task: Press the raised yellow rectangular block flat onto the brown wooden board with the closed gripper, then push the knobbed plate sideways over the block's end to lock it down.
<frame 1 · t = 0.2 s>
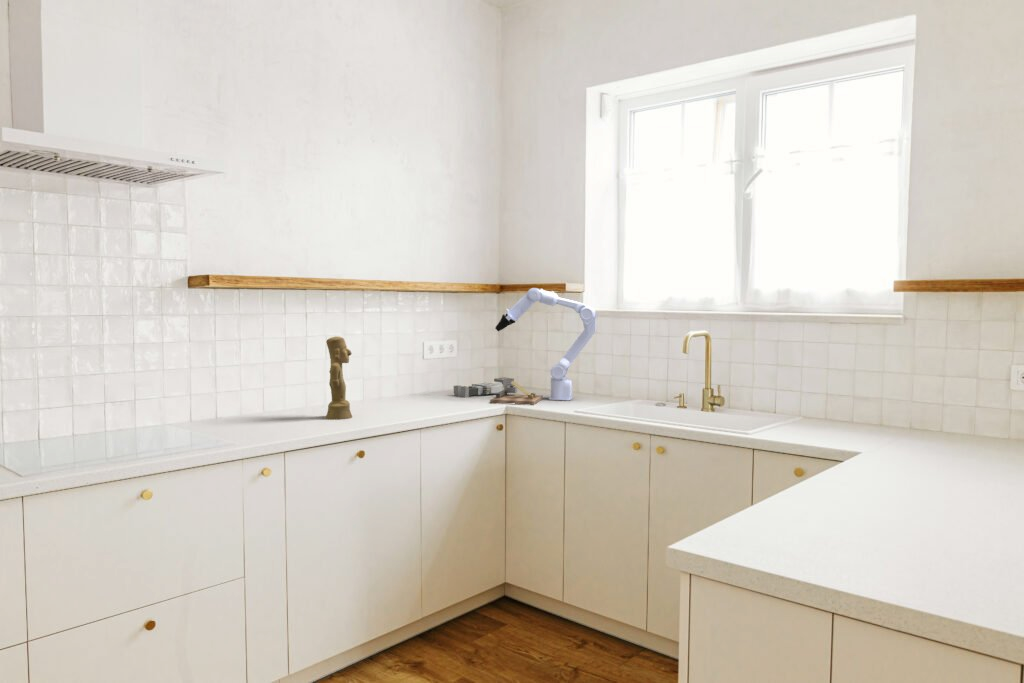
hand: (498, 329, 333), 31 cm above the countertop, tool tilted 45°, fingers open, 7 cm apart
toy figure: (485, 395, 345), on the countertop
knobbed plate: (511, 388, 329), point 4 cm above the countertop, slide at 0.0 cm
statue: (338, 417, 274), on the countertop
brown wooden board: (517, 401, 322), on the countertop
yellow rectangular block: (522, 389, 321), point 5 cm above the countertop, hinge at 35.0°
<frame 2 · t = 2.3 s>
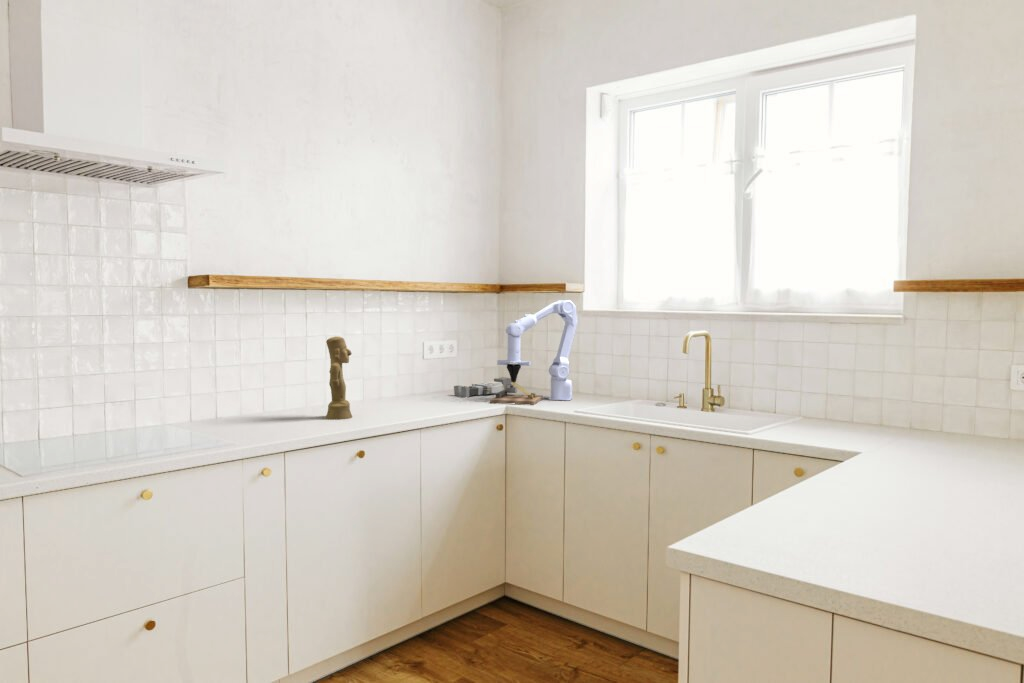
hand: (513, 381, 322), 8 cm above the countertop, tool pointing down, fingers closed
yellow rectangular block: (522, 389, 321), point 5 cm above the countertop, hinge at 34.8°, touching gripper
everything else where it was.
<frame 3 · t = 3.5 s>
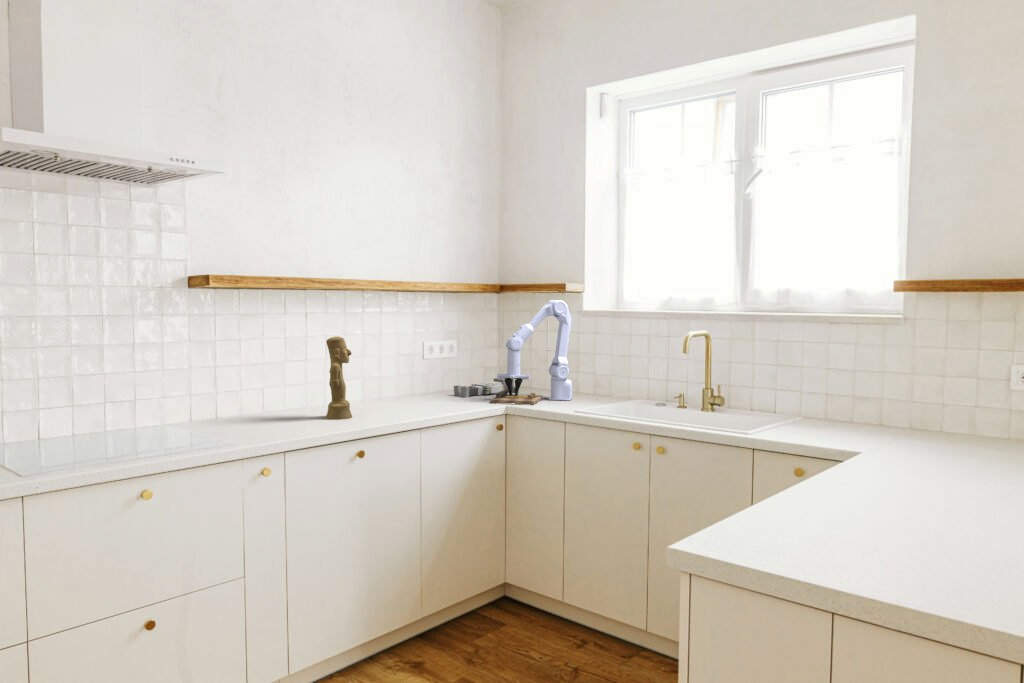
hand: (513, 395, 322), 2 cm above the countertop, tool pointing down, fingers closed on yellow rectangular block, 2 cm apart
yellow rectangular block: (519, 396, 322), point 2 cm above the countertop, hinge at -0.4°, touching gripper
everything else where it was.
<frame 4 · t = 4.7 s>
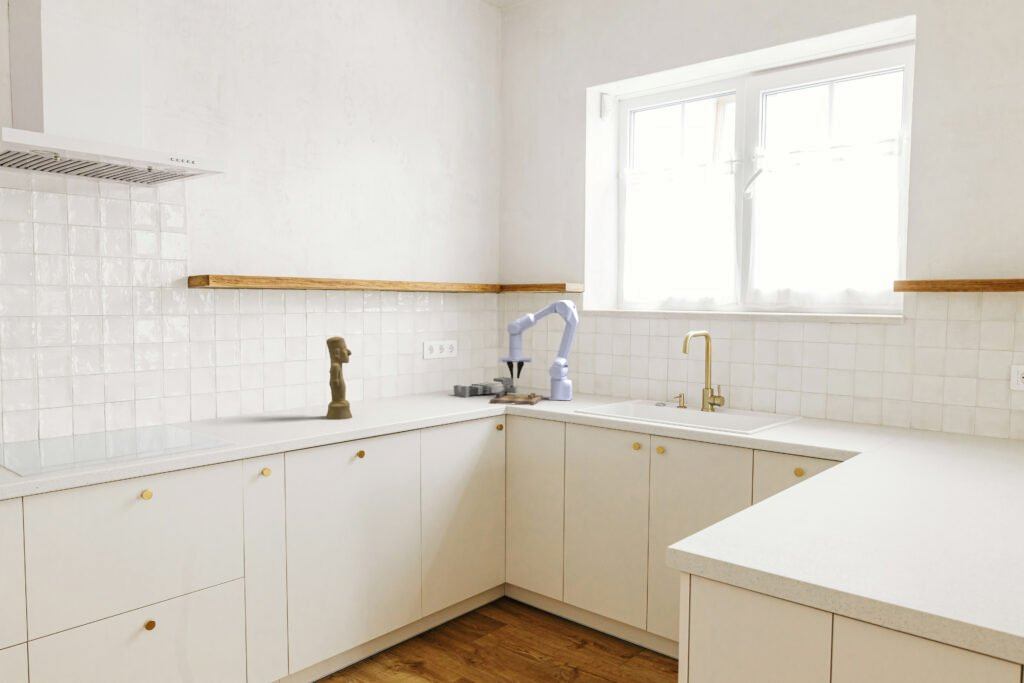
hand: (515, 378, 336), 8 cm above the countertop, tool pointing down, fingers closed
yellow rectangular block: (519, 396, 322), point 2 cm above the countertop, hinge at -0.3°
everything else where it was.
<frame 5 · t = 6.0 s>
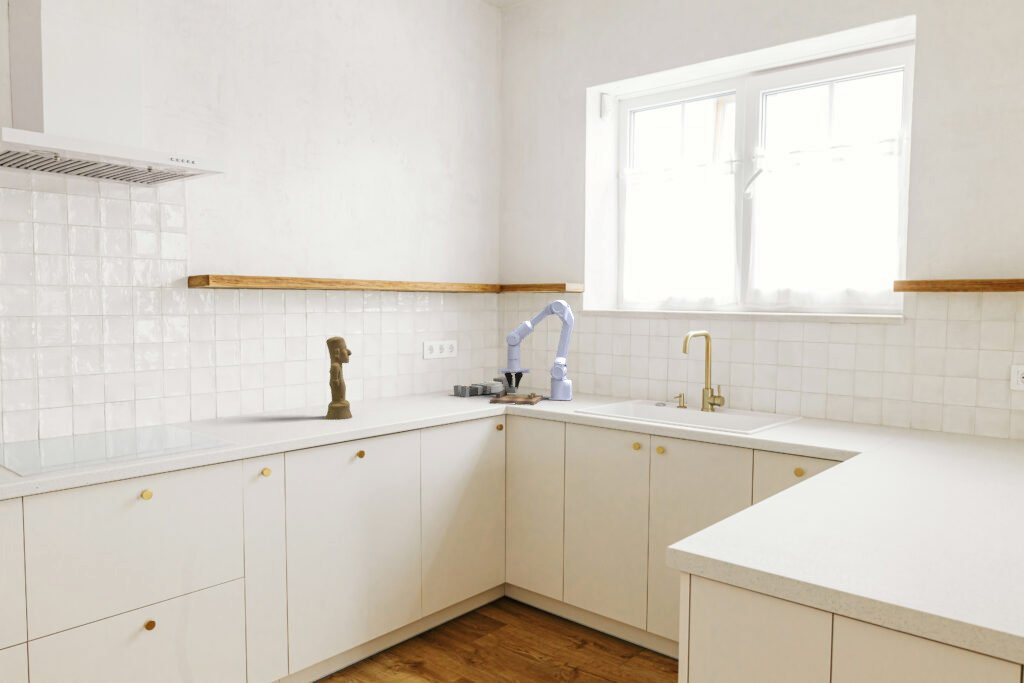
hand: (513, 389, 333), 4 cm above the countertop, tool pointing down, fingers closed
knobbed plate: (511, 388, 329), point 4 cm above the countertop, slide at 0.4 cm, touching gripper
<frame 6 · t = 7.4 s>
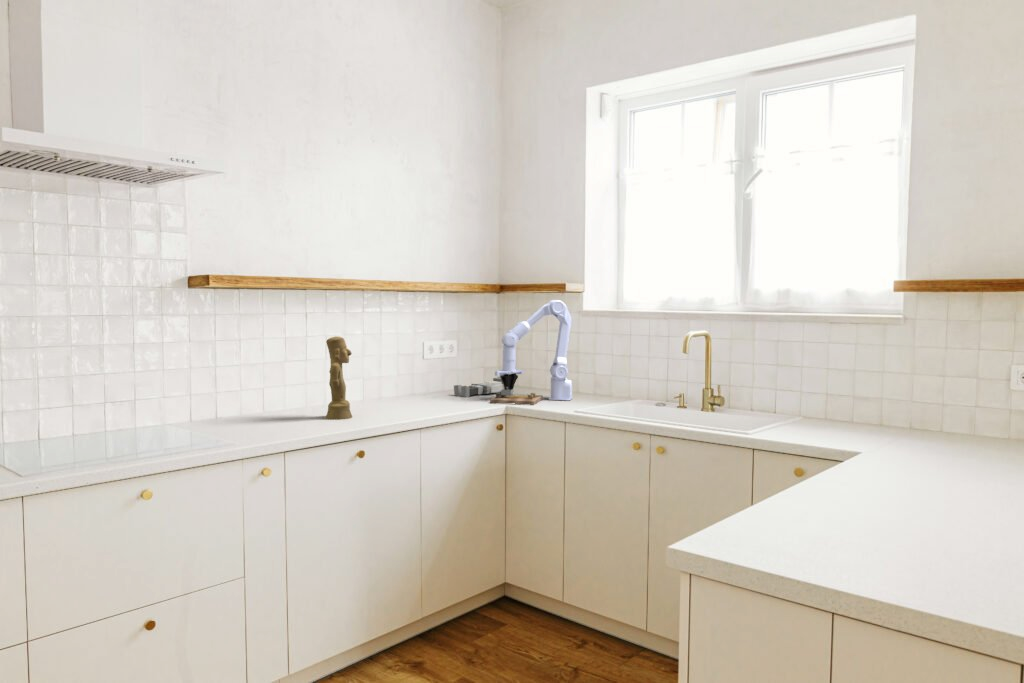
hand: (508, 391, 325), 4 cm above the countertop, tool pointing down, fingers closed
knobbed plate: (507, 390, 321), point 4 cm above the countertop, slide at 8.3 cm, touching gripper
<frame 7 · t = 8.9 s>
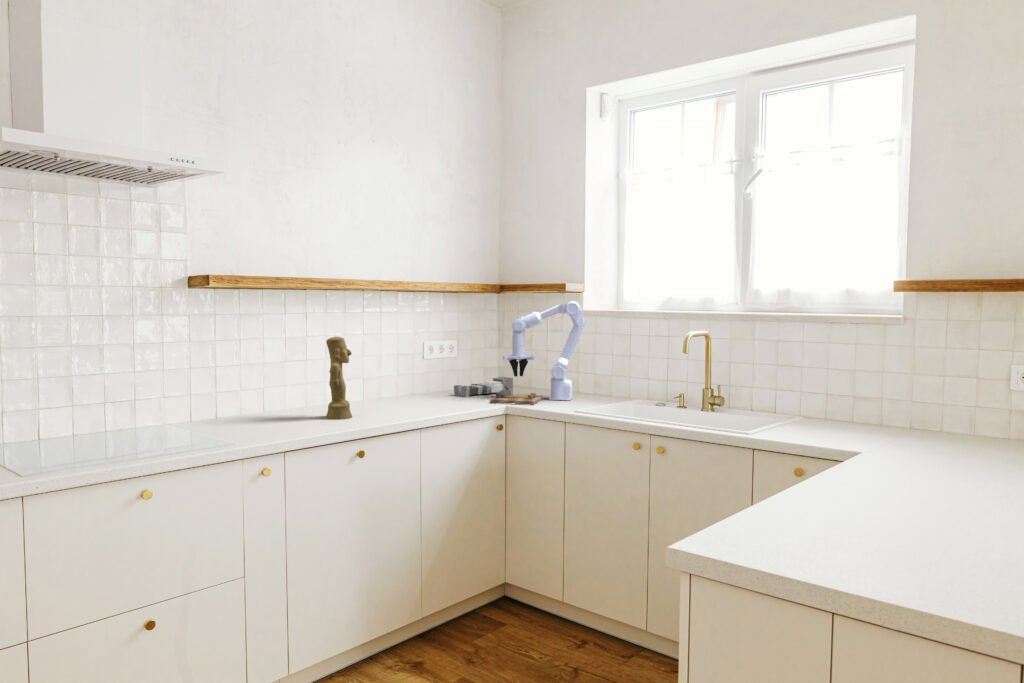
hand: (518, 376, 331), 10 cm above the countertop, tool pointing down, fingers closed
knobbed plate: (507, 390, 322), point 4 cm above the countertop, slide at 8.0 cm
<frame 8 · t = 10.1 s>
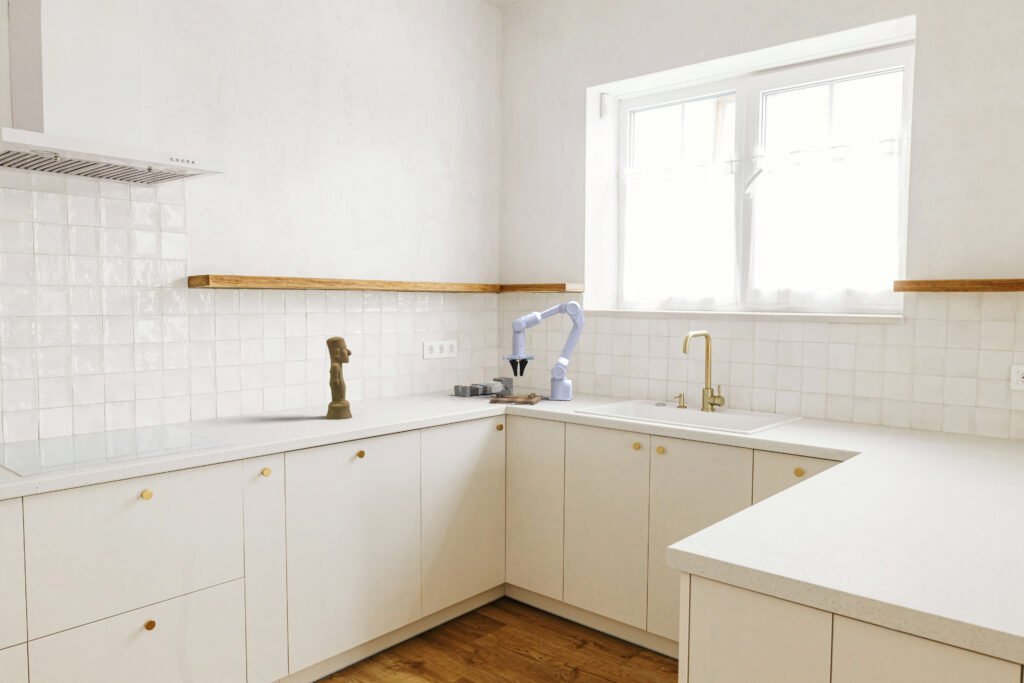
hand: (518, 376, 331), 10 cm above the countertop, tool pointing down, fingers closed
at the end: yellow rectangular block at +0° (first picture: +35°); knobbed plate slide at 8.0 cm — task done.
